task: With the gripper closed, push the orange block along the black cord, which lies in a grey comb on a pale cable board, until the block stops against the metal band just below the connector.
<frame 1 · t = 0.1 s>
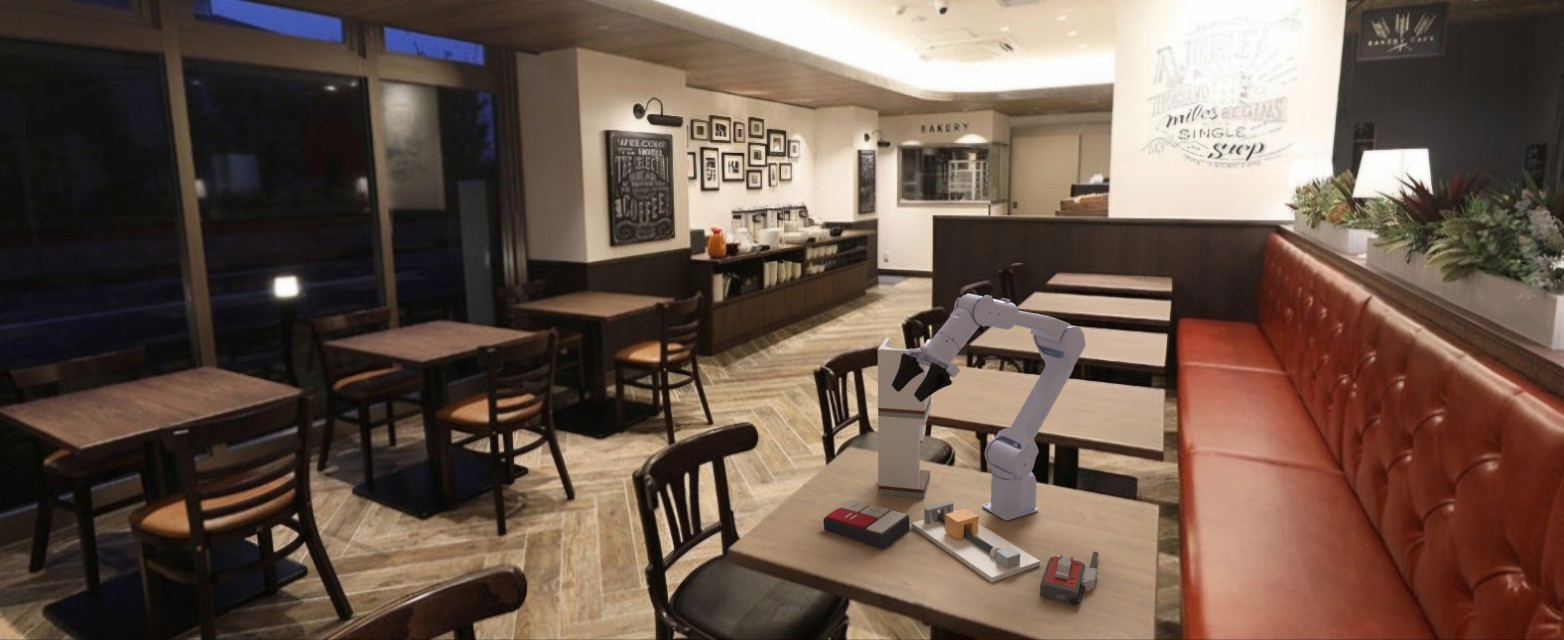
hand: (905, 393, 157), 32 cm above the table, tool tilted 50°, fingers open, 7 cm apart
calculator: (866, 532, 169), on the table
walkie-talkie: (1070, 581, 148), on the table
cable board: (972, 545, 161), on the table
white box tower: (904, 486, 190), on the table
orange block: (961, 523, 163), point 3 cm above the table, slide at 0.0 cm
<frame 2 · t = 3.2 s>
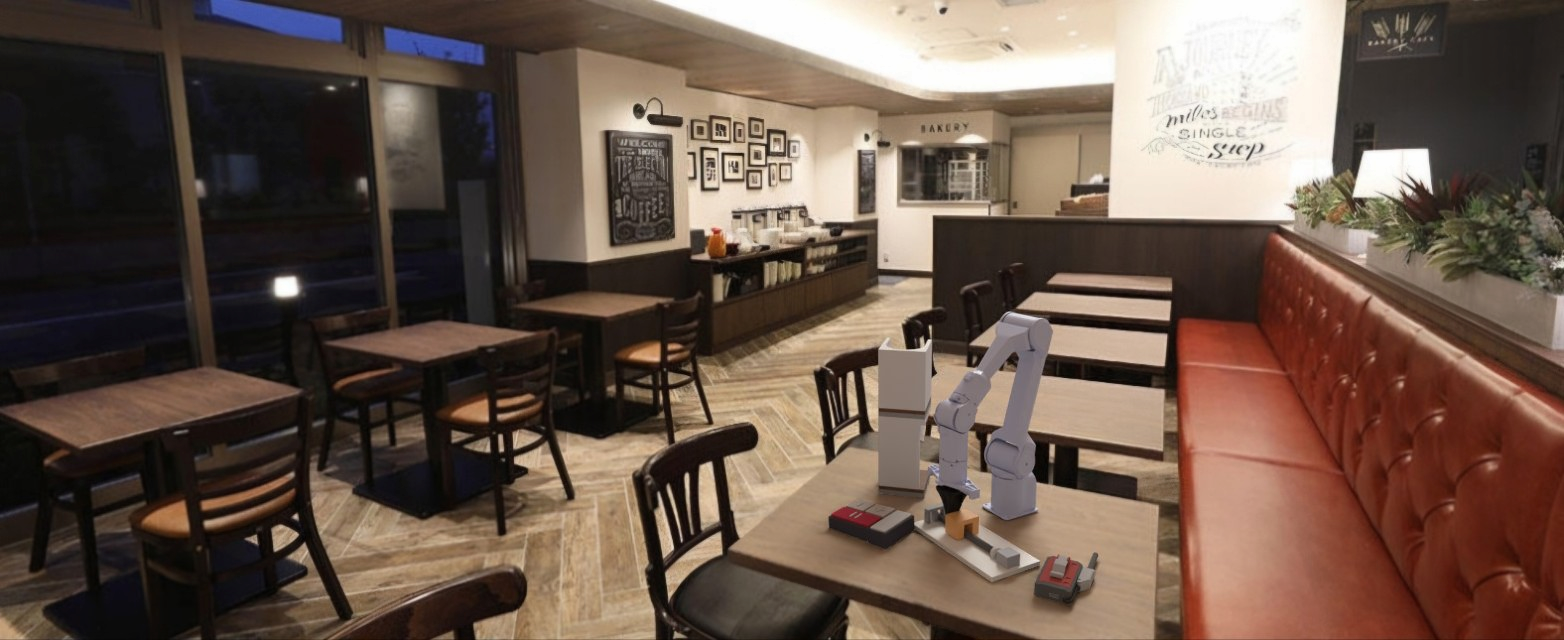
hand: (952, 518, 166), 3 cm above the table, tool pointing down, fingers closed
calculator: (871, 531, 170), on the table
orange block: (962, 524, 163), point 3 cm above the table, slide at 0.1 cm, touching gripper
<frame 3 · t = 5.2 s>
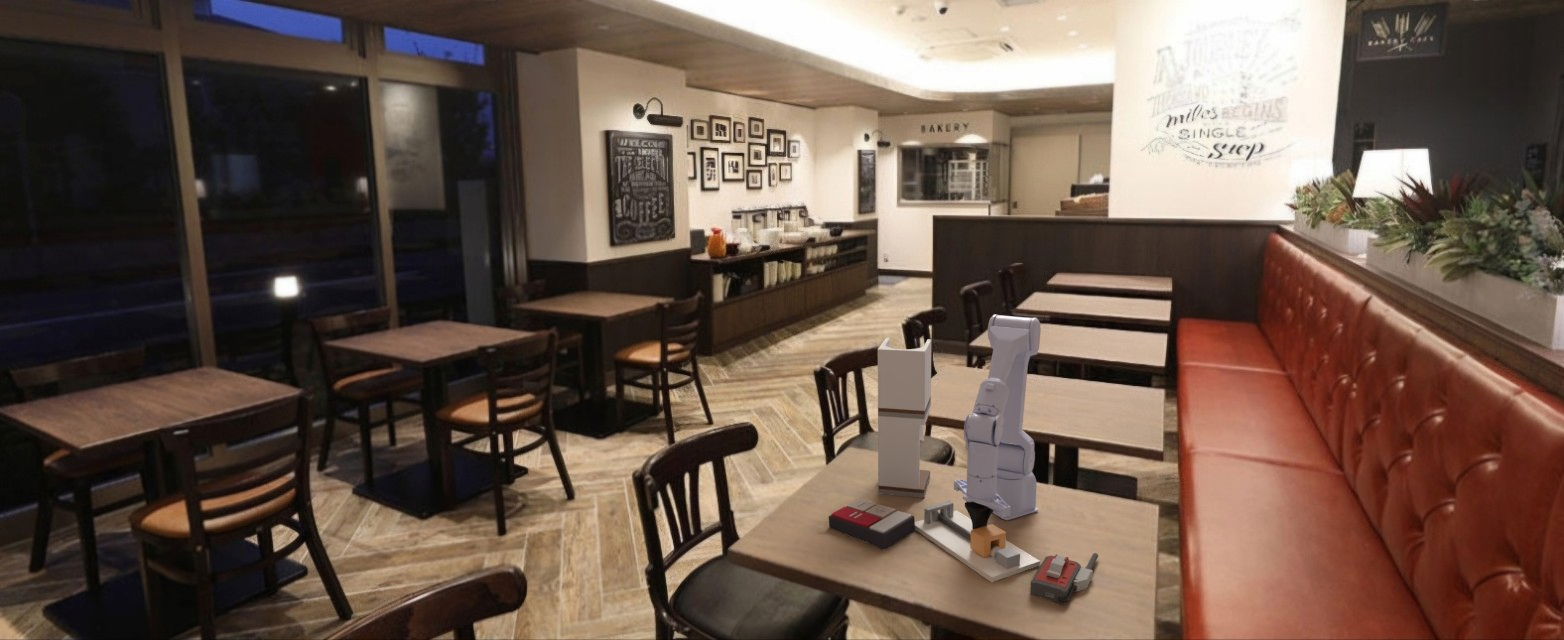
hand: (979, 535, 159), 3 cm above the table, tool pointing down, fingers closed, pressing on orange block
orange block: (988, 540, 156), point 3 cm above the table, slide at 8.0 cm, touching cable board, gripper
everything else where it was.
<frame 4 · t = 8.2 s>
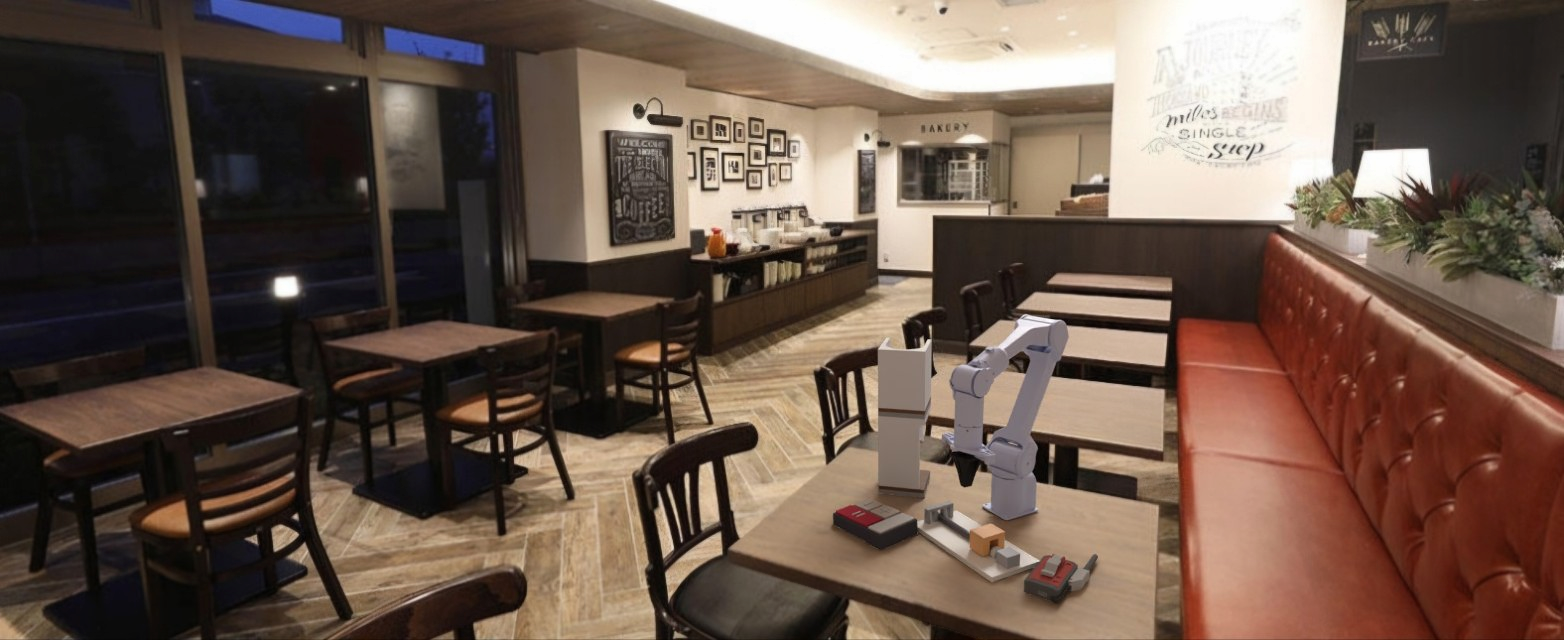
hand: (966, 485, 165), 10 cm above the table, tool pointing down, fingers closed
orange block: (987, 539, 157), point 3 cm above the table, slide at 7.7 cm
at the end: orange block slide at 7.7 cm; calculator moved 2.1 cm from its start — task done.
